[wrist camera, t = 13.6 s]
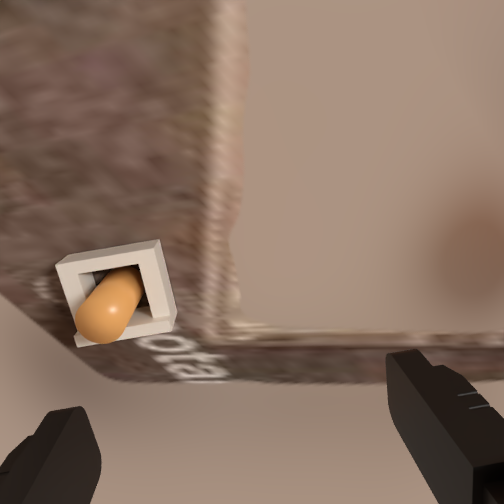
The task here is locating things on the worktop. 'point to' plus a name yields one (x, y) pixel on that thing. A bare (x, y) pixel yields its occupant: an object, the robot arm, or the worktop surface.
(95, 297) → the orange capsule
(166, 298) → the housing
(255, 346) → the worktop surface
